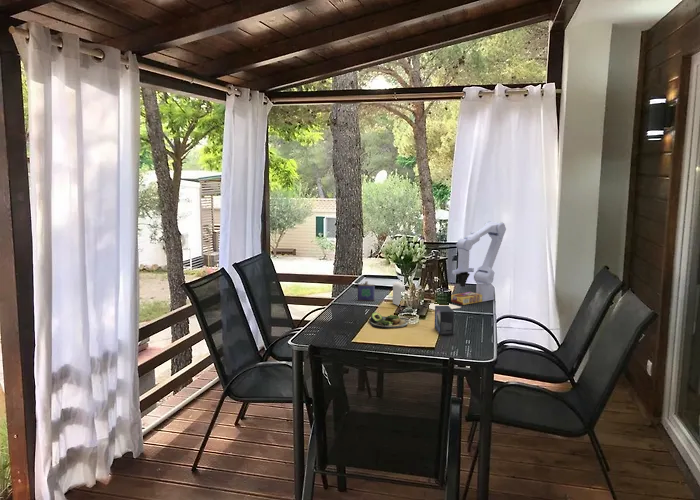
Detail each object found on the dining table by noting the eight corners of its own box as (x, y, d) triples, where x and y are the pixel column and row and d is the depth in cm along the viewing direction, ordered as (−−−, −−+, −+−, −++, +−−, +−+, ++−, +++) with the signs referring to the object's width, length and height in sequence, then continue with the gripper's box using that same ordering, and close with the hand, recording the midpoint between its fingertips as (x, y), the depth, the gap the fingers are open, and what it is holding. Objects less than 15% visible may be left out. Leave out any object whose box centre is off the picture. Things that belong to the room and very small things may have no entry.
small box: (433, 327, 244) (434, 305, 242) (447, 327, 245) (448, 305, 243) (439, 334, 234) (440, 311, 232) (453, 334, 234) (454, 311, 233)
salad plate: (403, 318, 261) (404, 308, 261) (416, 328, 244) (416, 318, 244) (365, 319, 257) (365, 310, 256) (375, 330, 240) (375, 320, 239)
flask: (374, 300, 296) (374, 280, 294) (374, 301, 293) (374, 281, 292) (357, 299, 296) (357, 280, 295) (357, 301, 294) (357, 281, 292)
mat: (442, 302, 293) (442, 301, 293) (461, 307, 282) (461, 306, 281) (420, 305, 284) (420, 305, 284) (438, 311, 273) (438, 310, 273)
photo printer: (391, 303, 289) (392, 280, 287) (398, 302, 291) (398, 280, 289) (401, 307, 280) (402, 284, 278) (408, 307, 282) (409, 283, 280)
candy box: (462, 305, 287) (482, 301, 295) (463, 298, 286) (482, 294, 294) (450, 302, 294) (470, 298, 302) (450, 294, 293) (470, 291, 302)
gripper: (467, 259, 296) (466, 283, 298) (448, 261, 288) (447, 286, 289) (477, 260, 290) (476, 285, 292) (458, 263, 282) (457, 288, 284)
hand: (462, 286), depth 290 cm, fingers closed
